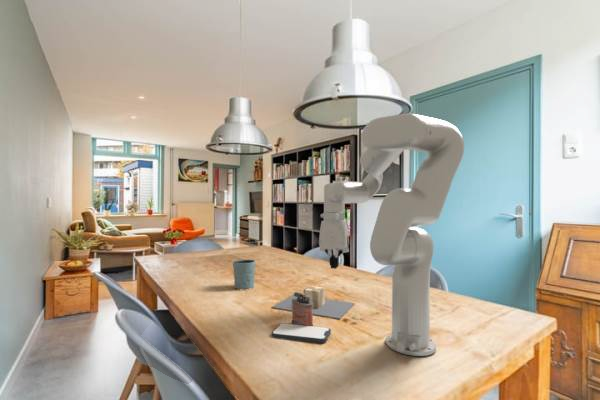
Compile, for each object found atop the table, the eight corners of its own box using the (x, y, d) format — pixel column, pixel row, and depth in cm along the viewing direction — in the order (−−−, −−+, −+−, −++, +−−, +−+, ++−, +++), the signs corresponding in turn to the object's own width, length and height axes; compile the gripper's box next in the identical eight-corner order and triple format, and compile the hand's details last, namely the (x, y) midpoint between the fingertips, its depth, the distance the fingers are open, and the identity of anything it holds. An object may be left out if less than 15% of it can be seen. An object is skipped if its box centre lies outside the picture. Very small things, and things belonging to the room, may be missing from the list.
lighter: (315, 327, 95) (315, 294, 95) (308, 330, 92) (308, 297, 93) (296, 320, 100) (296, 289, 101) (289, 323, 98) (289, 291, 98)
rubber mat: (339, 319, 102) (339, 318, 102) (271, 307, 113) (271, 306, 113) (354, 304, 118) (354, 302, 118) (293, 295, 129) (293, 294, 129)
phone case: (270, 339, 88) (325, 345, 83) (269, 333, 88) (325, 339, 83) (280, 327, 96) (331, 333, 92) (280, 322, 96) (331, 327, 92)
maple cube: (318, 291, 112) (303, 289, 114) (318, 308, 111) (303, 306, 114) (324, 287, 117) (310, 285, 120) (324, 303, 117) (310, 301, 119)
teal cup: (253, 290, 136) (253, 263, 136) (230, 290, 136) (230, 263, 137) (256, 284, 146) (256, 259, 147) (235, 284, 146) (235, 259, 147)
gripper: (311, 217, 113) (311, 268, 112) (351, 217, 106) (351, 271, 106) (319, 216, 119) (318, 264, 119) (357, 217, 113) (357, 267, 113)
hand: (334, 267), depth 112 cm, fingers closed
